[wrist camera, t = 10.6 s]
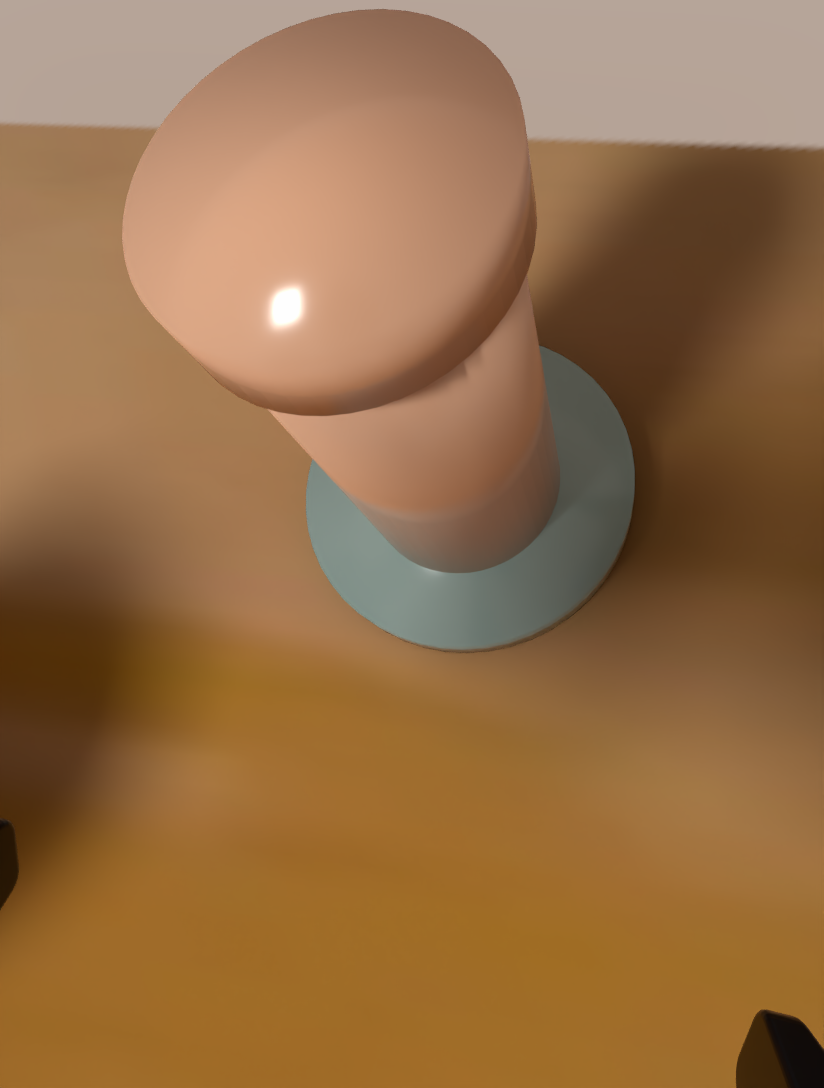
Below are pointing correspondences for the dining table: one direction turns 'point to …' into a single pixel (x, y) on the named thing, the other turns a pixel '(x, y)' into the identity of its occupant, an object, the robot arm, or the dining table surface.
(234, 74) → the mushroom-shaped peg
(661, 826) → the dining table surface
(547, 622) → the saucer
